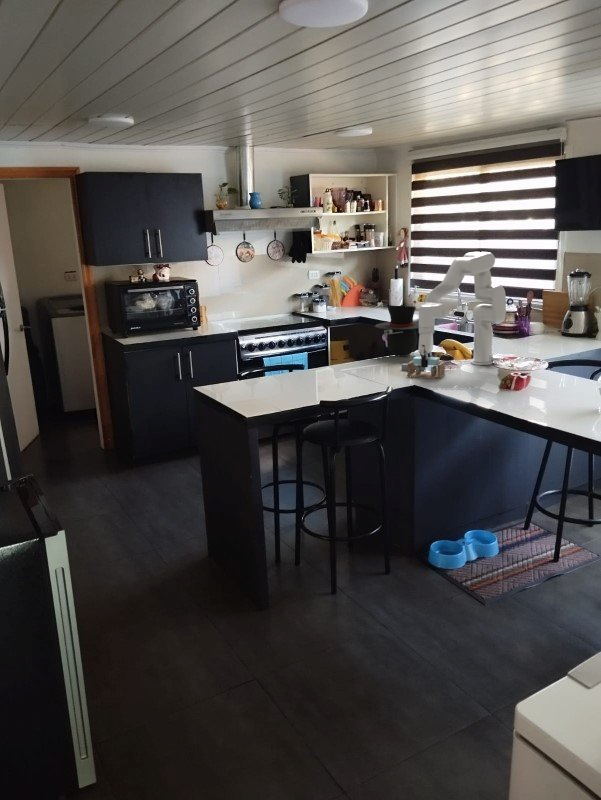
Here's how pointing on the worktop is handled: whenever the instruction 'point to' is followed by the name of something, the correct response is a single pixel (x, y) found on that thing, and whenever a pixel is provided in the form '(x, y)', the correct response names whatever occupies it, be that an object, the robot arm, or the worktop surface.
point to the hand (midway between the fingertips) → (426, 365)
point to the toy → (400, 330)
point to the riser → (405, 367)
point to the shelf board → (431, 360)
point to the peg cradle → (435, 373)
